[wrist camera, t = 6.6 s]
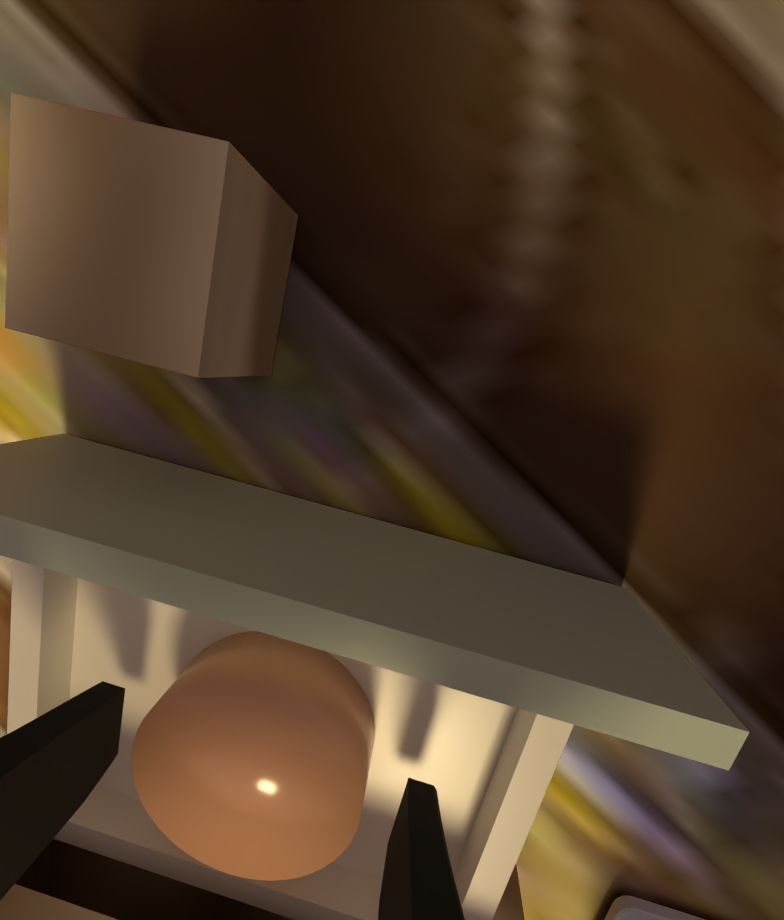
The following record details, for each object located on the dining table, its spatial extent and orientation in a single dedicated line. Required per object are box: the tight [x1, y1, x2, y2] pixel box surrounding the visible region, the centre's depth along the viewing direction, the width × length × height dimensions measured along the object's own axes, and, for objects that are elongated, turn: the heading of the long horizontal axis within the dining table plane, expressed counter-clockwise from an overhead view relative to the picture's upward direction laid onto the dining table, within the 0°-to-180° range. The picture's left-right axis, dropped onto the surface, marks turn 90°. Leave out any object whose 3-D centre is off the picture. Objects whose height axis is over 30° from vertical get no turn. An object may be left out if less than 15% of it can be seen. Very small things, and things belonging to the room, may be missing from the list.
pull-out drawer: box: [0, 434, 749, 920], centre depth 11 cm, size 16×10×5 cm, turn 76°
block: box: [5, 93, 298, 378], centre depth 9 cm, size 4×4×4 cm
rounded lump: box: [131, 631, 375, 881], centre depth 10 cm, size 5×5×2 cm
